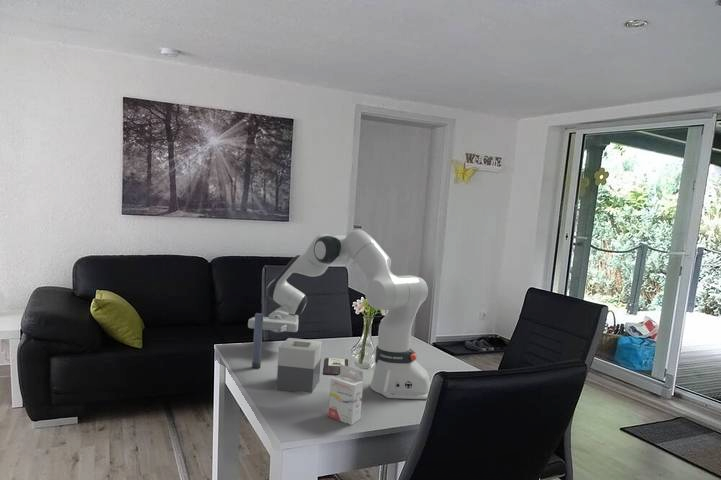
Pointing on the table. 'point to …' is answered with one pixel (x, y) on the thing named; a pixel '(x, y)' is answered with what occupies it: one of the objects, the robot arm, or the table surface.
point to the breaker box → (299, 365)
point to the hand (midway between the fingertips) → (268, 328)
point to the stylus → (257, 341)
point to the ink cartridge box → (346, 395)
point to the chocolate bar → (334, 366)
